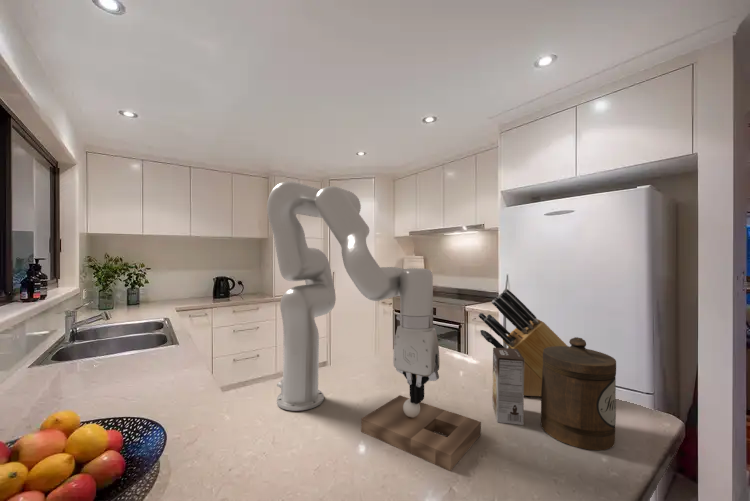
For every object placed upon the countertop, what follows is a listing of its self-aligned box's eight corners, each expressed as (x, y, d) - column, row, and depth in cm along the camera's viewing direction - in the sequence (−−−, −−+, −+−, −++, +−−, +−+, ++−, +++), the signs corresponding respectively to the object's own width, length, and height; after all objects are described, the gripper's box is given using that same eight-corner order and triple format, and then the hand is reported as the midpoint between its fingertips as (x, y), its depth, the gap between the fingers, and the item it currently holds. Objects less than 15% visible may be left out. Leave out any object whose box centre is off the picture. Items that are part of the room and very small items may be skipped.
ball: (401, 399, 77) (416, 407, 74) (410, 393, 80) (424, 400, 78) (398, 415, 77) (413, 423, 75) (407, 408, 80) (421, 416, 78)
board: (361, 431, 76) (361, 418, 76) (399, 406, 89) (399, 395, 89) (450, 471, 63) (450, 455, 63) (480, 435, 76) (480, 421, 76)
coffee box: (491, 405, 90) (492, 346, 90) (516, 408, 89) (517, 348, 89) (496, 422, 81) (497, 357, 81) (524, 425, 80) (525, 359, 80)
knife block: (476, 380, 108) (477, 285, 108) (592, 387, 104) (593, 288, 104) (483, 395, 97) (484, 289, 97) (613, 403, 93) (615, 292, 93)
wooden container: (625, 457, 68) (627, 350, 68) (545, 442, 73) (546, 342, 73) (604, 423, 82) (605, 333, 82) (537, 412, 87) (538, 328, 87)
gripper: (381, 320, 79) (381, 398, 78) (438, 328, 70) (439, 417, 69) (398, 315, 85) (398, 388, 84) (453, 323, 75) (454, 404, 75)
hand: (416, 401), depth 77 cm, fingers closed
